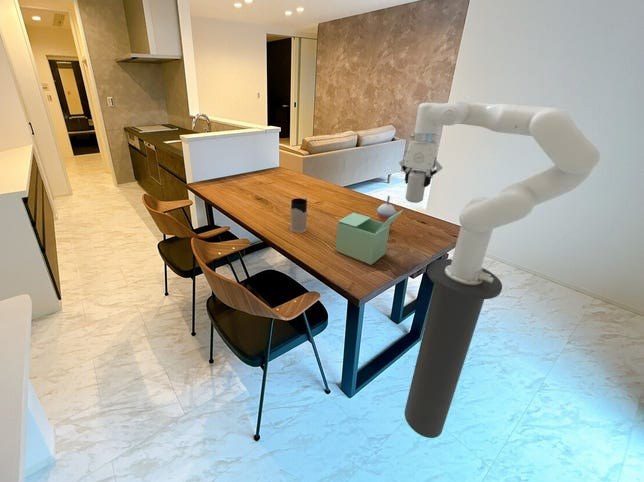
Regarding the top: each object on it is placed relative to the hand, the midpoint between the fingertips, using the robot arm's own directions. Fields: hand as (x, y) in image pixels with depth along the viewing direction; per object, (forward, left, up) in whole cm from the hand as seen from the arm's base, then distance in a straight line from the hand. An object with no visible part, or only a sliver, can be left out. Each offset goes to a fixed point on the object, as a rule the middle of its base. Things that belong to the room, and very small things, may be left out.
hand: (416, 184), depth 117 cm
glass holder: (+48, +12, -30) cm, 58 cm away
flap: (+3, +14, -12) cm, 19 cm away
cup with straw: (+16, -14, -30) cm, 37 cm away
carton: (+13, +14, -30) cm, 36 cm away
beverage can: (0, 0, -7) cm, 7 cm away
